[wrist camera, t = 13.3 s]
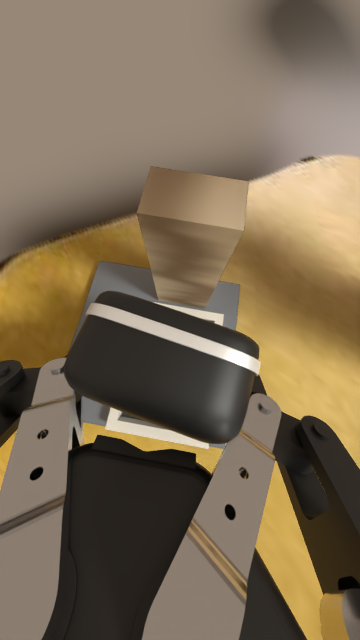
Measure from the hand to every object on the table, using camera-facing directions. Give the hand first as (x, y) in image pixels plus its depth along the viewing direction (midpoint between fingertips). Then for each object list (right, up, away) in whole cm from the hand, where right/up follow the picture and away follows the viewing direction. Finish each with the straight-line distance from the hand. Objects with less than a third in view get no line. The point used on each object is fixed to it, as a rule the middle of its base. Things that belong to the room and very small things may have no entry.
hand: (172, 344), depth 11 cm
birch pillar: (+1, +5, +8) cm, 9 cm away
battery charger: (0, -3, +5) cm, 6 cm away
